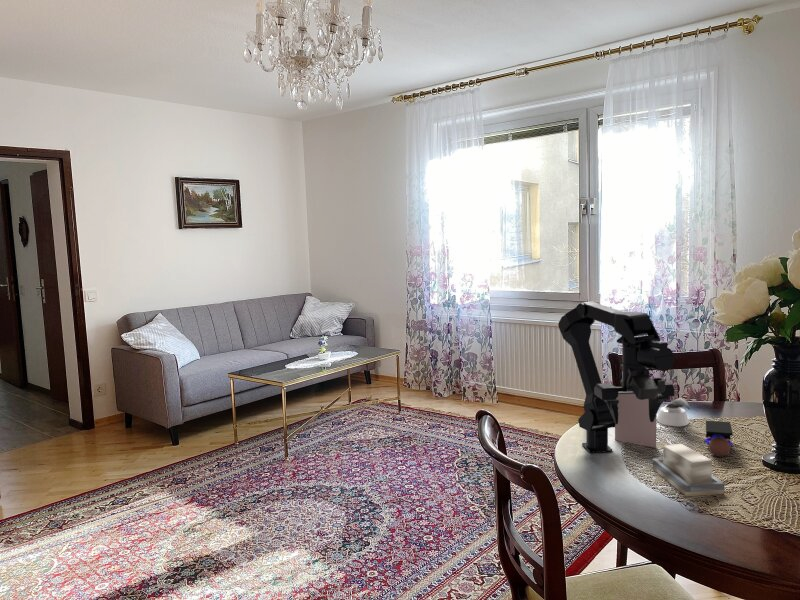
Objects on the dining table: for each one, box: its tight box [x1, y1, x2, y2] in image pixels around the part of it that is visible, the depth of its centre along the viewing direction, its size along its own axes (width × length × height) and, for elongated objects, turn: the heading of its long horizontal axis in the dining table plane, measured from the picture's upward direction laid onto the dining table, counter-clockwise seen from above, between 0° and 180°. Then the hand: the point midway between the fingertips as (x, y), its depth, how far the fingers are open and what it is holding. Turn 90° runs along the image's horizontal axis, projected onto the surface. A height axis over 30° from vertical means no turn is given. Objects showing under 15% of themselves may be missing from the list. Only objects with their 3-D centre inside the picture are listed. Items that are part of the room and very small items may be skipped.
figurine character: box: [703, 420, 734, 457], centre depth 161 cm, size 7×8×15 cm
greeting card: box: [614, 394, 658, 448], centre depth 167 cm, size 11×7×15 cm, turn 16°
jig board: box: [651, 457, 725, 497], centre depth 142 cm, size 16×9×2 cm, turn 3°
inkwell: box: [657, 397, 691, 427], centre depth 179 cm, size 9×18×10 cm, turn 177°
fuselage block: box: [662, 443, 713, 484], centre depth 142 cm, size 11×5×6 cm, turn 10°
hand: (633, 422), depth 149 cm, fingers open, 9 cm apart
